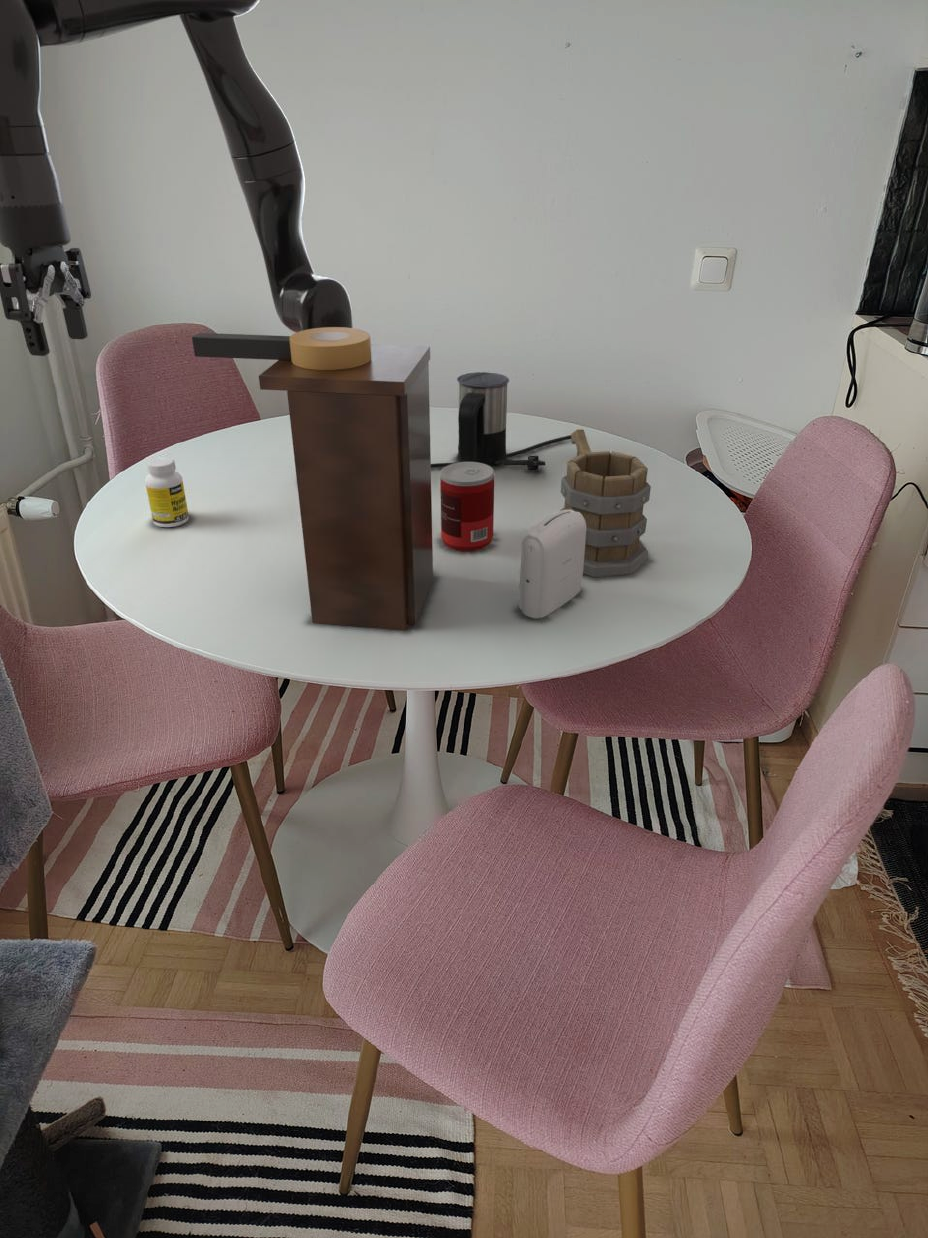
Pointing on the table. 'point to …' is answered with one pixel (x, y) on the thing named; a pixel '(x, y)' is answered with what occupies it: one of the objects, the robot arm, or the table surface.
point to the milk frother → (485, 421)
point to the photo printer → (552, 563)
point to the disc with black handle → (292, 347)
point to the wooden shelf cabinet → (363, 484)
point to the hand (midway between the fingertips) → (60, 346)
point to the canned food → (467, 505)
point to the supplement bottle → (166, 493)
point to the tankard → (608, 507)
